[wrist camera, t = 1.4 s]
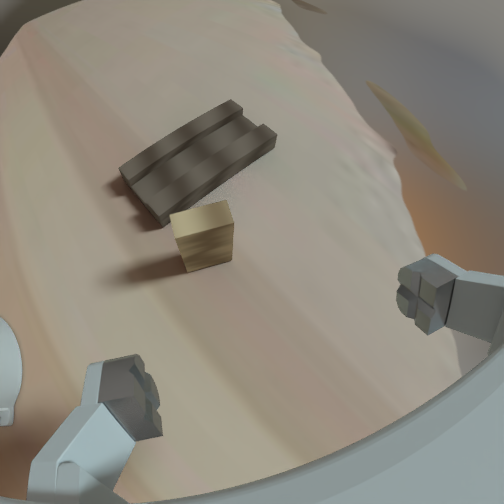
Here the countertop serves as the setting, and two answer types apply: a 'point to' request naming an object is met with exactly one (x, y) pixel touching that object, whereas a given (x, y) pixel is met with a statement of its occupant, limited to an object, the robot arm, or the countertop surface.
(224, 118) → the bridge
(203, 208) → the wooden block
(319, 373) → the countertop surface
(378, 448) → the robot arm
